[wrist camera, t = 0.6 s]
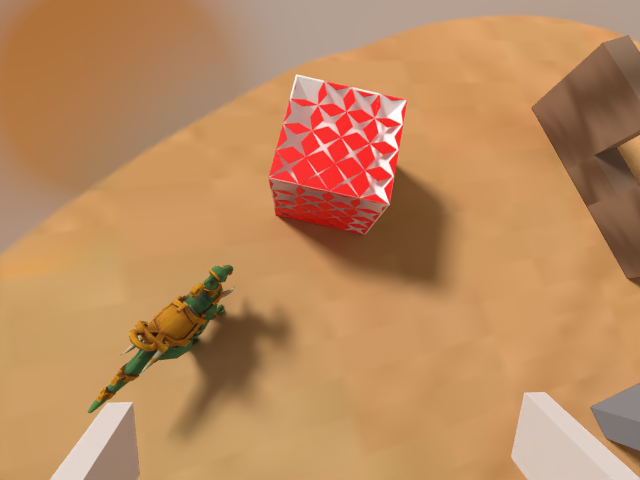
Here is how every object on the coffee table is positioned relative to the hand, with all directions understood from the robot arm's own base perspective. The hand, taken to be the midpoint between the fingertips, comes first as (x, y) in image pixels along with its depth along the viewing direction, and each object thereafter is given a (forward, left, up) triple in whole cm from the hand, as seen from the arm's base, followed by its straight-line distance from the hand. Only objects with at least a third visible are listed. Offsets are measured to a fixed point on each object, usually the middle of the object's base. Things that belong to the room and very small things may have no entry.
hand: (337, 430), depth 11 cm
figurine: (+6, +8, -16) cm, 19 cm away
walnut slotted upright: (+6, -30, -15) cm, 34 cm away
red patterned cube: (+14, -7, -16) cm, 22 cm away
